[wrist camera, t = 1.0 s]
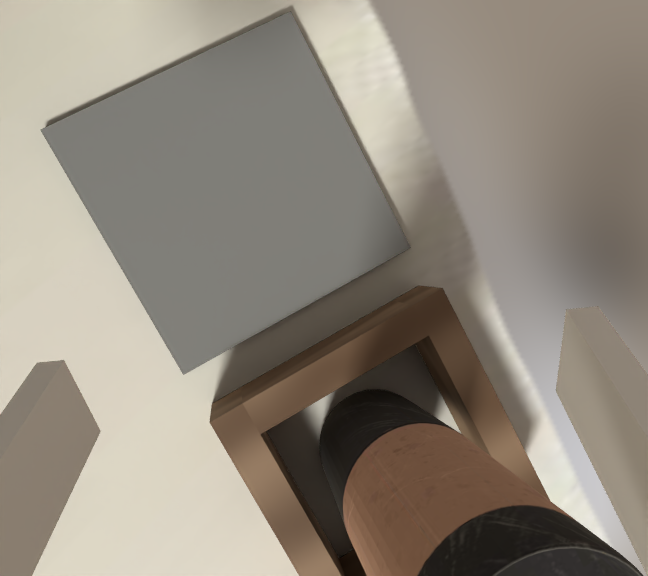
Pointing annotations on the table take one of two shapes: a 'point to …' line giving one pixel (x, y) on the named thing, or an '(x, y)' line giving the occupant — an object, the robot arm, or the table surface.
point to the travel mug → (444, 501)
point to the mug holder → (334, 372)
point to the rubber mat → (229, 190)
